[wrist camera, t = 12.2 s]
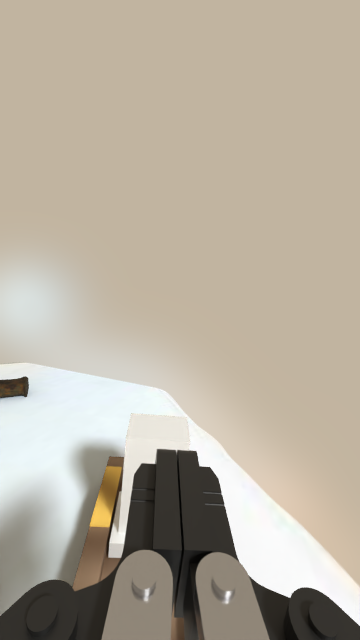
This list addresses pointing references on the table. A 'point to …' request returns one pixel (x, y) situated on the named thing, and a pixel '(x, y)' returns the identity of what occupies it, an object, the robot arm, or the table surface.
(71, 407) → the table surface
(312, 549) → the table surface
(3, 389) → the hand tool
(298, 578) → the table surface
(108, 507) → the switch housing
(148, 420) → the switch tab
